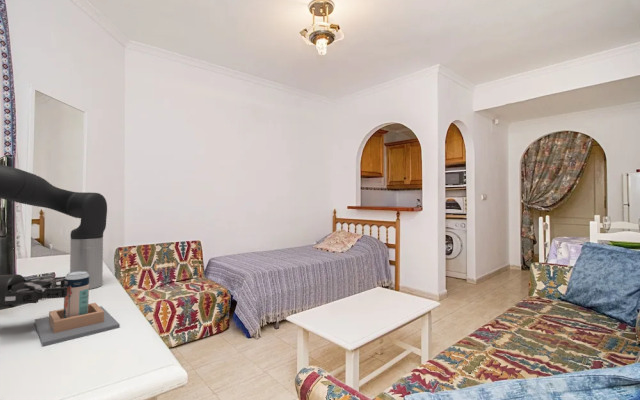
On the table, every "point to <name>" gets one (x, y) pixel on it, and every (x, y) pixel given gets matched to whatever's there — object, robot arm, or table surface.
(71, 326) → the socket plate
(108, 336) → the table surface
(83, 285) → the beer can
